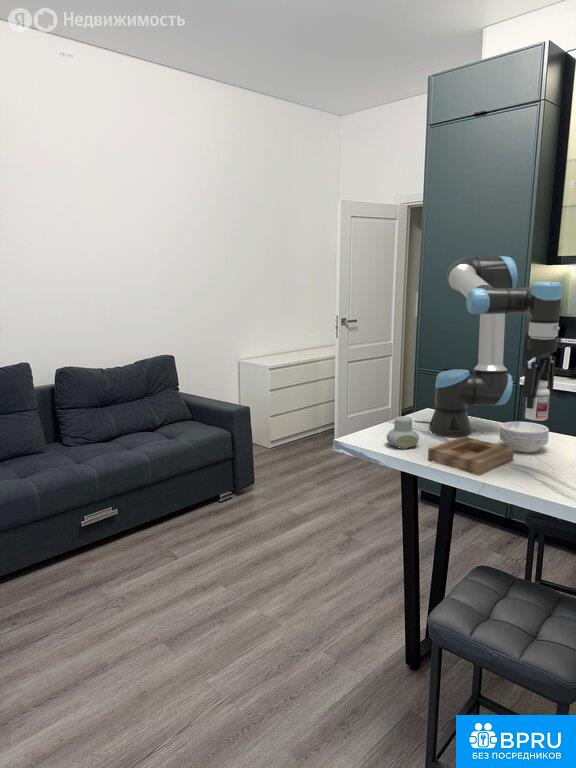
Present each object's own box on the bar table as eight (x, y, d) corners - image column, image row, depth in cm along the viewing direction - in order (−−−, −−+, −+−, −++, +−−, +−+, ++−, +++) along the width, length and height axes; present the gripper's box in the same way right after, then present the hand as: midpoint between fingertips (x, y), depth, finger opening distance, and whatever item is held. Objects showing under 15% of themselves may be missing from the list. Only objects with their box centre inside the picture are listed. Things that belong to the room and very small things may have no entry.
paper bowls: (509, 439, 197) (510, 418, 196) (553, 448, 187) (555, 425, 185) (491, 449, 186) (492, 426, 185) (537, 459, 176) (539, 435, 175)
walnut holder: (428, 460, 176) (428, 448, 175) (463, 447, 188) (463, 436, 188) (478, 475, 162) (479, 462, 161) (513, 460, 175) (513, 448, 174)
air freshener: (390, 450, 186) (391, 422, 184) (383, 443, 194) (384, 415, 192) (421, 449, 187) (422, 420, 185) (413, 441, 195) (414, 414, 193)
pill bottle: (528, 414, 163) (531, 378, 161) (550, 417, 159) (554, 380, 157) (521, 418, 159) (524, 381, 157) (543, 422, 155) (546, 384, 153)
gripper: (539, 341, 145) (532, 425, 150) (571, 335, 157) (563, 413, 162) (512, 339, 151) (506, 420, 156) (545, 333, 163) (538, 408, 168)
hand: (536, 416), depth 159 cm, fingers closed on pill bottle, 6 cm apart
